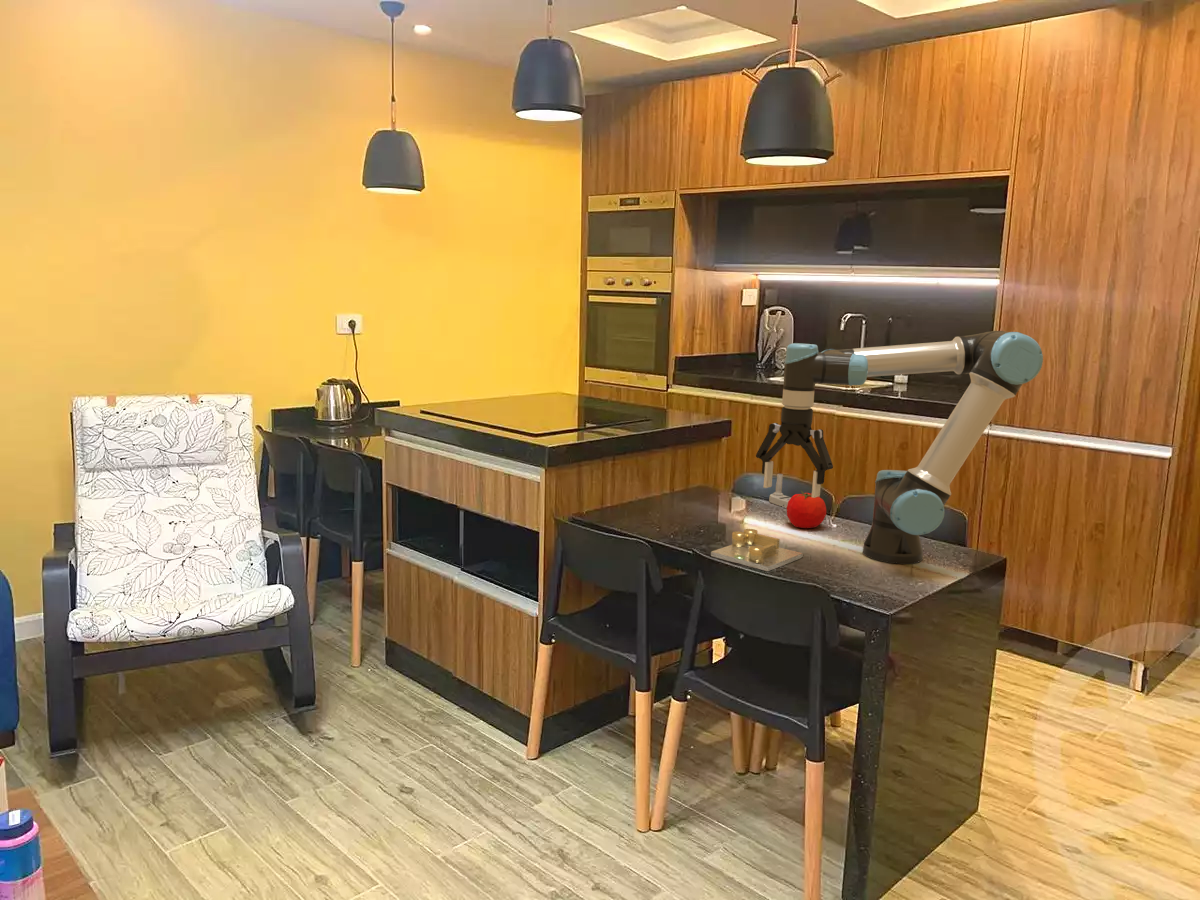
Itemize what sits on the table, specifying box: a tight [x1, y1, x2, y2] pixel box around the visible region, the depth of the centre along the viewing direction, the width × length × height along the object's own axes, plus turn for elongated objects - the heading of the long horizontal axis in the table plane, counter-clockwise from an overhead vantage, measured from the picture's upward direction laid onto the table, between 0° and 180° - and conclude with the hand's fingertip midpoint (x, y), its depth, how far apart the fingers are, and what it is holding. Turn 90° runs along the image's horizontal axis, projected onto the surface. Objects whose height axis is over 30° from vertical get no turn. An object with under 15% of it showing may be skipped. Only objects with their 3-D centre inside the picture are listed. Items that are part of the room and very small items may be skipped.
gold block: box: [743, 528, 780, 549], centre depth 237 cm, size 10×4×3 cm, turn 48°
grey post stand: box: [768, 473, 792, 509], centre depth 288 cm, size 5×10×15 cm
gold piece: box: [749, 543, 776, 563], centre depth 225 cm, size 10×4×3 cm, turn 138°
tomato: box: [786, 490, 827, 529], centre depth 263 cm, size 12×12×10 cm
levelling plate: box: [710, 530, 804, 572], centre depth 231 cm, size 17×17×4 cm
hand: (791, 492), depth 222 cm, fingers open, 13 cm apart
